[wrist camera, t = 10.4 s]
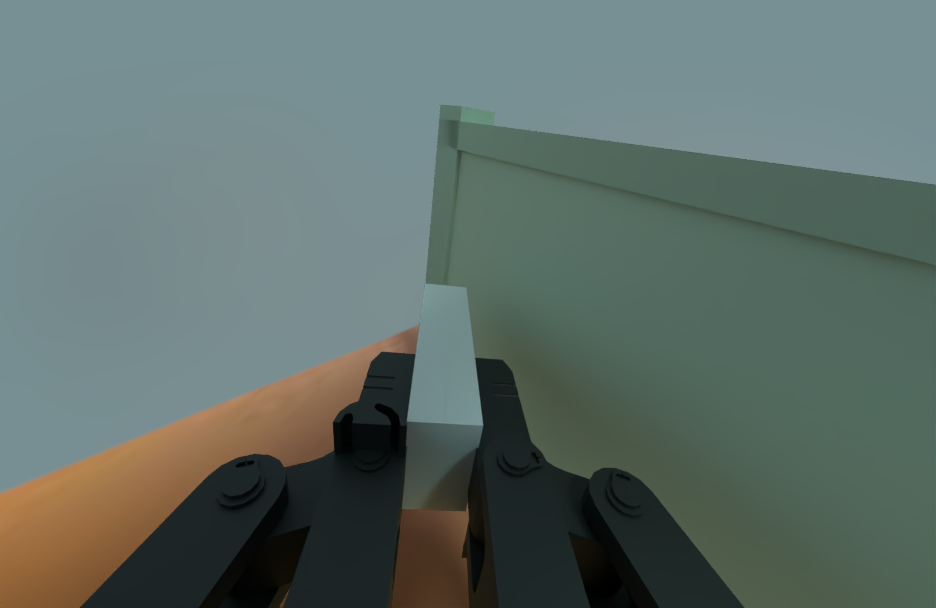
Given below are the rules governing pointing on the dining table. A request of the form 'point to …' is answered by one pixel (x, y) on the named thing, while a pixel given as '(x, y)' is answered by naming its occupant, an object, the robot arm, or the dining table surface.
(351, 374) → the dining table surface
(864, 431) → the fence panel
